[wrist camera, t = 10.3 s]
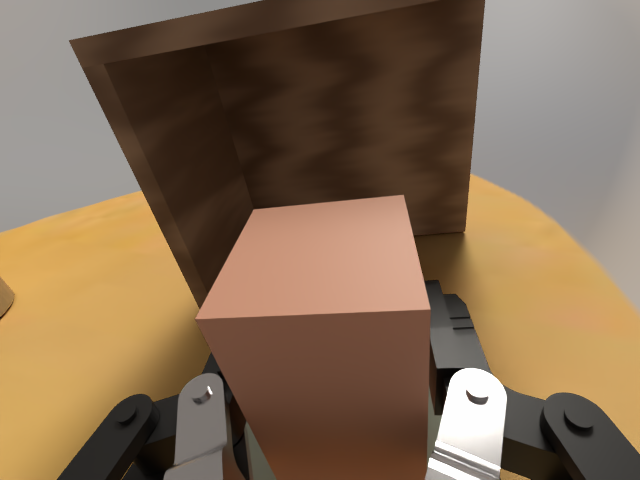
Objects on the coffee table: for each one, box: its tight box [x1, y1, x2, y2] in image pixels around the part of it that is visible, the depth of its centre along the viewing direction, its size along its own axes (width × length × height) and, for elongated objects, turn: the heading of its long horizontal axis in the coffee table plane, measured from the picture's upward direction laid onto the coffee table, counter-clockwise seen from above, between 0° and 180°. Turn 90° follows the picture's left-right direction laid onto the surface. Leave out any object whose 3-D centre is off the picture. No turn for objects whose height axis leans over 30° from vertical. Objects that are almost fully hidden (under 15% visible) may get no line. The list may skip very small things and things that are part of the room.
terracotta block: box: [195, 195, 431, 480], centre depth 11 cm, size 4×4×12 cm
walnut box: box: [69, 0, 485, 309], centre depth 22 cm, size 19×12×18 cm, turn 85°
